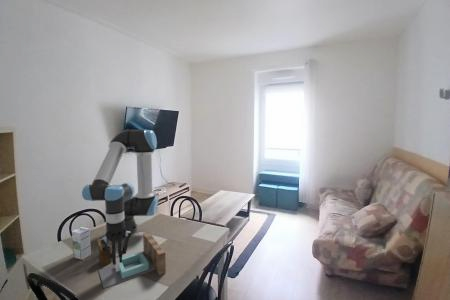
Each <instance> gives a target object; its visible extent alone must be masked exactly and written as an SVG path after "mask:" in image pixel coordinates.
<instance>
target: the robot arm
mask: <svg viewBox="0 0 450 300" xmlns="http://www.w3.org/2000/svg"><path fill="white" fill-rule="evenodd" d="M157 146H158V141H157V136H156V134H155V131H154V130H152V129H151V130H150V129H124V130H122V131H120V132H119V133H117V134H115V136H114V137H113V138H112V139H111V141H110V142H109V144H108V148H109V149H108V151H107V152H106V154H105V156H104V159H103V161H102V162H101V165H100V167H99V169H98V171H97V173H96V175H95V177H94V179H93V181H92V183H91V184H87V185H85V186H83V188H82V190H81V197H82V198H83V199H84V200H85V201H90V202H94V201H95V202H96V201H97V202H98V201H99V202H100V201H104V205H105V206H104V207H105V222H106V223H105V225H106V226H105V228H106V232H105V234H104V236H103V237H100V238H99V240H100V242H101V245H102V246H103V247H105V250H106V253H107V255H108V258H109V259H110V258H112V262H111V263H112V266H113V265H115V269H116V272H118V271H120V263H121V262H122V258H123V256H124V255H126V254H127V250H128V245H129V240H130V238H131V236H132V234H135V233H136V232H137V231H138V225H137V223H136V220H135V218H134V217H150V216H154V215H155V214H156V213H157V210H158V206H159V205H158V204H159V197H157V196H156V193H155V192H154V191H153V169H152V168H153V167H152V166H153V165H152V164H153V163H152V162H153V161H152V160H153V159H152V155H153V154H154V152H155V150H156V149H157ZM129 149H130V150H133V153H134V154H135V156H136V171H137V177H136V178H137V193H136V194H135V187H134V186H133V184H131V183H129V182H125V183H122V184H111V182H112V179H113V177H114V175H115V173H116V171H117V169H118V166H119V163H120V161H121V160H122V159H121V158H122V157H123V155H124V154H125V153H126V152H127V150H129ZM134 194H135V195H134ZM123 238H124V241H122V239H123ZM107 239H108V240H107ZM108 241H109V242H110V241H111V242H110V246H111V250H112V254H110V251H109V249H108V246H109V245H108ZM116 242H117V247H116ZM122 242H123V243H122ZM107 245H108V246H107ZM122 245H123V246H122ZM116 248H117V254H116Z"/></svg>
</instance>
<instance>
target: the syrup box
mask: <svg viewBox="0 0 450 300" xmlns="http://www.w3.org/2000/svg"><path fill="white" fill-rule="evenodd" d="M71 238H72V251H73V258H74V259H78V260H81V261H83V260H85V259H86V258H87V257H90V256H91V255H92V247H91V233H90V228H88V227H84V226H80V227H78V228H76V229H74V230H72V231H71Z"/></svg>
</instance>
